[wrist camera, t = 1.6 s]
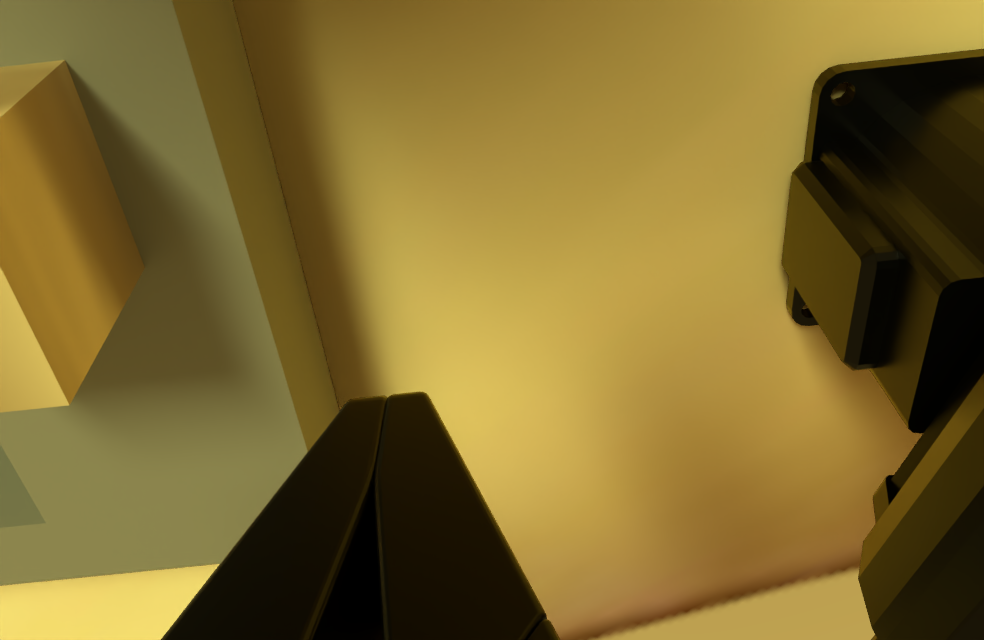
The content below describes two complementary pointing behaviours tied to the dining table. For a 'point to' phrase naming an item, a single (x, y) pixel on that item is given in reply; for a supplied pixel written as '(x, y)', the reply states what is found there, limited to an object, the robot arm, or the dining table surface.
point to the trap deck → (168, 308)
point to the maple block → (55, 240)
